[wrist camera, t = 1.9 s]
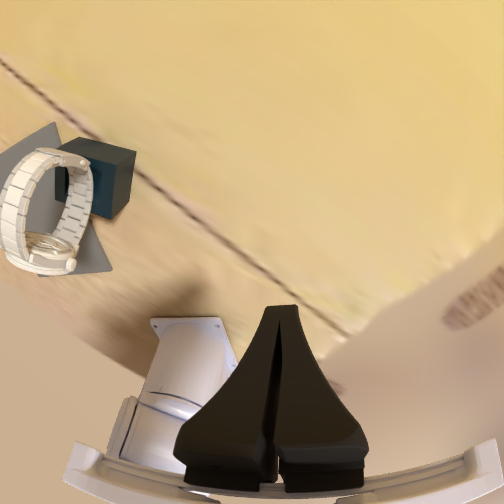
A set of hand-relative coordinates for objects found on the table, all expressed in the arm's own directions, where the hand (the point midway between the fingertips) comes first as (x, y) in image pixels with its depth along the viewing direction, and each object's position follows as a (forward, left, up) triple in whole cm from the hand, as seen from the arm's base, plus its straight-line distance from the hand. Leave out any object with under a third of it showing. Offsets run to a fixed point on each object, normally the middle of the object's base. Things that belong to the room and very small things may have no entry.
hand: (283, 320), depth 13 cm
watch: (+6, +13, -11) cm, 18 cm away
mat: (+4, +23, -11) cm, 25 cm away
